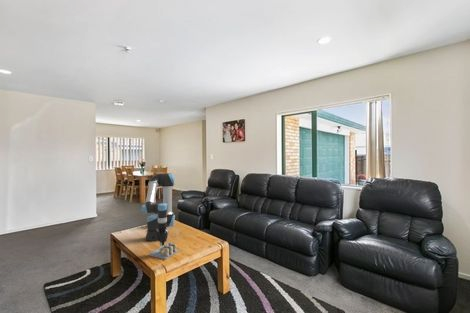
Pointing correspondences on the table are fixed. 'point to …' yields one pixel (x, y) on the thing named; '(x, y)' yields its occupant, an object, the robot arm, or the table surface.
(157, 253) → the boss board
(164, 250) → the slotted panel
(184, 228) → the table surface
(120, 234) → the table surface
